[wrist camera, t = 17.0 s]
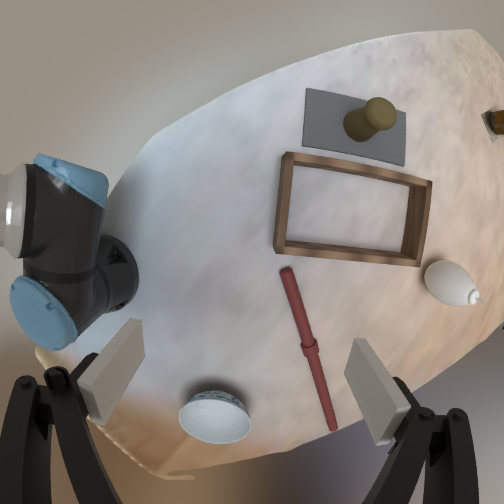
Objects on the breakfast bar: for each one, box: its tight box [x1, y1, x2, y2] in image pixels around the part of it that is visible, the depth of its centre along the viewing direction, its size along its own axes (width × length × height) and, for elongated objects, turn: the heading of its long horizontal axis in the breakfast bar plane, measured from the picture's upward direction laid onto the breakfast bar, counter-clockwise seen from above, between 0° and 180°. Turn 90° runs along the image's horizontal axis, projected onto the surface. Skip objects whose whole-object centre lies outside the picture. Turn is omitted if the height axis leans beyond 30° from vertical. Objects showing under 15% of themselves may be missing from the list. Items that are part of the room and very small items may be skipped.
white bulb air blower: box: [424, 260, 485, 306], centre depth 40 cm, size 8×8×18 cm
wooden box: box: [273, 152, 432, 267], centre depth 43 cm, size 26×15×6 cm, turn 85°
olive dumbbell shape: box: [343, 97, 397, 142], centre depth 37 cm, size 6×6×11 cm
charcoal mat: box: [302, 88, 406, 166], centre depth 42 cm, size 20×11×1 cm, turn 85°
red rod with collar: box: [280, 268, 338, 432], centre depth 52 cm, size 45×3×3 cm, turn 19°
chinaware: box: [179, 390, 251, 444], centre depth 51 cm, size 15×15×8 cm
